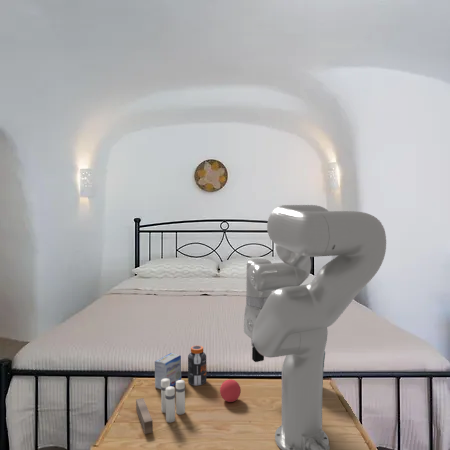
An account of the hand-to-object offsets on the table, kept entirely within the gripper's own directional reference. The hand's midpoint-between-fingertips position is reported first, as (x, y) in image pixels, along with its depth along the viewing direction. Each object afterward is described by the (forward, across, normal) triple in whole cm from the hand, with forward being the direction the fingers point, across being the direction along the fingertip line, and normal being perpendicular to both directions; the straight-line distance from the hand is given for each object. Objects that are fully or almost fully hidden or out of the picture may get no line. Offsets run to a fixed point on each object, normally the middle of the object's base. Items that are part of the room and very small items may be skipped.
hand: (258, 360), depth 112 cm
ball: (+7, +1, -10) cm, 12 cm away
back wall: (+10, +1, -35) cm, 36 cm away
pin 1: (+10, -1, -28) cm, 30 cm away
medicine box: (+11, -16, -24) cm, 30 cm away
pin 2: (+10, +4, -28) cm, 30 cm away
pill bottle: (+11, -14, -15) cm, 23 cm away
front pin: (+10, +1, -25) cm, 27 cm away
